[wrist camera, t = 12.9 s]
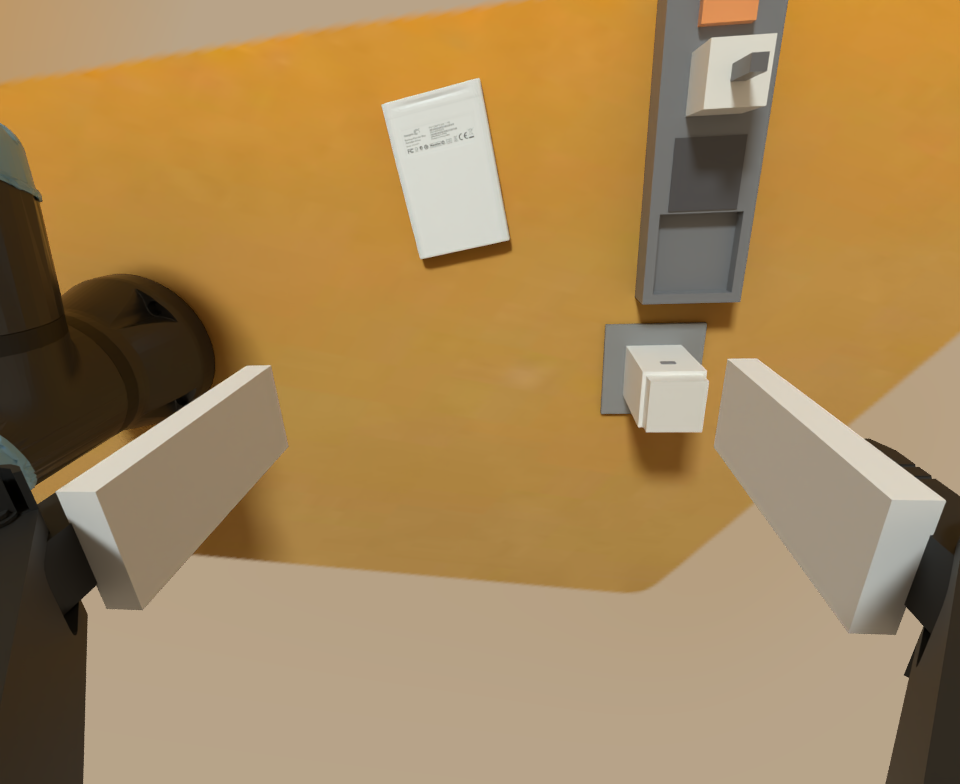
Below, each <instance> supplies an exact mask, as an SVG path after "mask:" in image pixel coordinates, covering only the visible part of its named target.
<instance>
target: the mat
mask: <svg viewBox="0 0 960 784" xmlns="http://www.w3.org/2000/svg"><path fill="white" fill-rule="evenodd" d="M706 328H707V323H706V322H699V323H651V324H605V341H604V360H603V378H602V396H601V414H632V413H631V411H630V409H629V407H628V405H627V403H626V401H625V399H624V396H623V385H624V371H625V356H626V346H644V345H682V346H683V347H684V348H685V349H686V350H687V351H688V352H689V353H690V354H691V355H692V356H693V357H694V358H695V359H696V360H697V361H698V362H699V363H700V364H702V357H703V350H704V342H705V335H706Z"/></svg>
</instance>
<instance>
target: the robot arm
mask: <svg viewBox="0 0 960 784" xmlns="http://www.w3.org/2000/svg"><path fill="white" fill-rule="evenodd" d="M40 202H42V196H41V194H40V192H39V191H38V190H37V189H36V188H35V185H34V182H33V178H32V175H31V171H30V168H29V164H28V160H27V157H26V153H25V150H24V148H23V146H22V144H21V142H20V141H19V139H18V138H17V136H16V135H15V134H14V133H13V132H12V131H11V130H9V129H8V128H7V127H5V126H4V125H2V124H1V123H0V784H83V766H84V728H85V692H86V655H87V652H86V651H87V618H88V617H87V616H88V615H87V612H86V610H85V608H84V605H83V604H82V602H81V599H82V598H83V597H84V596H85V595H86V594H88V593H89V592H90V591H91V589H93V588H94V587H95V586H97V587H98V590H99V592H100V595H101V597H102V599H103V601H104V604H105V606H106V608H107V609H128V610H143V609H144V608H145V607H146V606H147V605H148V603H149V602H150V601H151V600H152V599H153V598H154V597H155V595H156V594H157V593H158V592H159V591H160V590H161V589H162V588H163V587H164V585H165V584H166V583H167V582H168V581H169V580H170V579H171V578H172V577H173V575H174V574H175V573H176V572H177V571H178V570H179V569H180V568H181V566H182V565H183V564H184V563H185V562H186V561H187V560H188V558H189V557H190V556H191V555H192V554H193V553H194V552H195V551H196V550H197V549H198V547H199V546H200V545H201V544H202V543H203V542H204V541H205V540H206V538H207V537H208V536H209V535H210V534H211V533H212V532H213V531H214V529H215V528H216V527H217V526H218V525H219V524H220V523H221V522H222V520H223V519H224V518H225V517H226V516H227V515H228V514H229V513H230V512H231V510H232V509H233V508H234V507H235V506H236V505H237V504H238V503H239V501H240V500H241V499H242V498H243V497H244V496H245V495H246V494H247V492H248V491H249V490H250V489H251V488H252V487H253V486H254V485H255V483H256V482H257V481H258V480H259V479H260V478H261V477H262V476H263V475H264V473H265V472H266V471H267V470H268V469H269V468H270V467H271V466H272V464H273V463H274V462H275V461H276V460H277V459H278V458H279V457H280V455H281V454H282V453H283V452H284V451H285V450H286V449H287V448H288V442H287V438H286V433H285V428H284V424H283V419H282V415H281V410H280V405H279V401H278V396H277V391H276V387H275V382H274V378H273V373H272V368H271V365H265V366H245V367H244V368H242V369H241V370H239V371H238V372H236V373H235V374H233V375H232V376H230V377H229V378H227V379H226V380H224V381H223V382H221V383H220V384H218V385H216V386H215V387H213V388H212V389H210V387H211V384H212V381H213V377H214V369H215V361H214V353H213V348H212V345H211V342H210V339H209V336H208V334H207V332H206V330H205V328H204V326H203V325H202V323H201V321H200V320H199V318H198V317H197V315H196V314H195V313H194V312H193V310H192V309H191V308H190V307H189V306H188V305H187V304H186V303H185V302H184V301H183V300H182V299H181V298H180V297H178V296H177V295H176V294H175V293H173V292H172V291H170V290H169V289H167V288H166V287H164V286H162V285H160V284H158V283H156V282H154V281H152V280H149V279H146V278H143V277H140V276H135V275H129V274H113V275H107V276H103V277H98V278H94V279H90V280H87V281H84V282H82V283H80V284H78V285H76V286H74V287H72V288H71V289H70V290H68V291H67V292H66V293H64V294H63V295H62V296H61V293H60V289H59V285H58V280H57V276H56V272H55V267H54V263H53V259H52V254H51V250H50V246H49V241H48V237H47V233H46V228H45V224H44V220H43V215H42V211H41V207H40ZM209 389H210V390H209ZM158 423H159V424H158ZM153 424H157V425H156V426H154V427H153V428H151V429H150V430H148V431H147V432H145V433H144V434H142V435H141V436H139V437H138V438H136V439H135V440H133V441H131V442H130V443H128V444H127V445H125V446H124V447H122V448H121V449H119V450H118V451H116V452H115V453H113V454H112V455H110V456H109V457H107V458H106V459H104V460H103V461H101V462H100V463H98V464H97V465H95V466H94V467H92V468H90V469H89V470H87V471H86V472H84V473H83V474H81V475H80V476H78V477H77V478H75V479H74V480H72V481H71V482H69V483H68V484H66V485H65V486H63V487H62V488H60V489H59V490H57V491H56V493H54V494H52V495H51V496H49V497H48V498H46V499H45V500H43V501H42V502H40V503H39V504H37V503H36V501H35V499H34V497H33V495H32V492H31V490H32V489H33V488H35V485H37V484H39V483H40V482H42V481H43V480H45V479H46V478H48V477H50V476H51V475H53V474H54V473H56V472H57V471H59V470H61V469H62V468H64V467H65V466H67V465H69V464H70V463H72V462H73V461H75V460H76V459H78V458H80V457H81V456H83V455H84V454H86V453H88V452H89V451H91V450H92V449H94V448H96V447H97V446H99V445H100V444H102V443H104V442H105V441H107V440H108V439H110V438H111V437H113V436H115V435H116V434H118V433H120V432H121V431H123V430H128V429H133V428H138V427H143V426H148V425H153ZM714 448H715V449H716V451H717V452H718V454H719V455H720V456H721V458H722V459H723V460H724V462H725V463H726V465H727V466H728V467H729V469H730V470H731V471H732V473H733V474H734V476H735V477H736V478H737V480H738V481H739V483H740V484H741V485H742V487H743V488H744V489H745V491H746V492H747V494H748V495H749V496H750V498H751V499H752V501H753V502H754V503H755V505H756V506H757V507H758V509H759V510H760V512H761V513H762V514H763V516H764V517H765V518H766V520H767V521H768V523H769V524H770V525H771V527H772V528H773V530H774V531H775V532H776V534H777V535H778V536H779V538H780V539H781V541H782V542H783V543H784V545H785V546H786V548H787V549H788V550H789V552H790V553H791V554H792V556H793V557H794V559H795V560H796V561H797V563H798V564H799V565H800V567H801V568H802V570H803V571H804V572H805V574H806V575H807V576H808V578H809V579H810V581H811V582H812V583H813V585H814V586H815V587H816V589H817V590H818V592H819V593H820V595H821V596H822V597H823V599H824V600H825V601H826V603H827V604H828V606H829V607H830V608H831V610H832V611H833V612H834V613H835V615H836V617H837V618H838V619H839V620H840V622H841V624H842V625H843V626H844V628H845V629H846V630H847V632H848V633H859V634H888V635H896V632H897V630H898V627H899V624H900V622H901V619H902V617H903V614H904V611H905V608H906V607H907V608H908V609H909V610H910V612H912V614H913V615H914V616H915V617H916V618H917V619H918V620H919V621H920V623H921V624H922V625H923V626H924V627H923V629H922V632H921V634H920V637H919V639H918V642H917V644H916V646H915V649H914V652H913V654H912V656H911V659H910V662H909V664H908V666H907V669H906V671H905V674H904V675H905V676H907V677H909V681H908V685H907V690H906V695H905V699H904V703H903V708H902V713H901V717H900V722H899V726H898V730H897V735H896V739H895V744H894V748H893V753H892V757H891V762H890V766H889V770H888V776H887V780H886V784H960V496H958V495H957V494H956V493H954V492H953V491H952V490H950V489H949V488H948V487H946V486H945V485H943V484H942V483H941V482H939V481H938V480H936V479H932V478H931V475H929V474H928V473H927V472H925V471H924V470H922V469H921V468H920V467H915V464H914V463H913V462H911V461H910V460H908V459H907V458H906V457H904V456H903V455H902V454H900V453H899V452H897V451H896V450H893V449H891V448H889V447H887V446H885V445H882V444H880V443H878V442H876V441H873V440H871V439H863V438H862V437H861V436H859V435H858V434H856V433H855V432H854V431H853V430H851V429H850V428H849V427H847V426H846V425H845V424H843V423H842V422H841V421H839V420H838V419H837V418H835V417H834V416H833V415H831V414H830V413H829V412H827V411H826V410H825V409H823V408H822V407H821V406H819V405H818V404H817V403H815V402H814V401H813V400H811V399H810V398H809V397H807V396H806V395H805V394H803V393H802V392H801V391H799V390H798V389H797V388H795V387H794V386H793V385H791V384H790V383H789V382H787V381H786V380H785V379H783V378H782V377H781V376H779V375H778V374H777V373H775V372H774V371H773V370H771V369H770V368H769V367H767V366H766V365H765V364H763V363H762V362H761V361H759V360H758V359H728V360H727V366H726V372H725V379H724V385H723V392H722V398H721V404H720V411H719V417H718V424H717V430H716V436H715V443H714Z"/></svg>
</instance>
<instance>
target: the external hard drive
mask: <svg viewBox="0 0 960 784" xmlns="http://www.w3.org/2000/svg"><path fill="white" fill-rule="evenodd" d="M382 109H383V113H384V117H385V121H386V125H387V129H388V133H389V137H390V141H391V145H392V150H393V154H394V157H395V162H396V166H397V169H398V173H399V177H400V181H401V185H402V189H403V193H404V197H405V201H406V205H407V209H408V213H409V217H410V221H411V225H412V229H413V233H414V237H415V241H416V245H417V249H418V252H419V256H420V259H425V258H430V257H434V256H439V255H443V254H448V253H453V252H457V251H462V250H467V249H471V248H476V247H480V246H485V245H490V244H495V243H499V242H503V241H509V240H510V235H509V230H508V225H507V219H506V214H505V209H504V203H503V198H502V193H501V187H500V182H499V177H498V171H497V166H496V160H495V155H494V150H493V145H492V139H491V134H490V129H489V123H488V118H487V113H486V107H485V102H484V97H483V91H482V85H481V81H480V79H479V78H477V79H472V80H469V81H466V82H462V83H458V84H455V85H451V86H447V87H444V88H440V89H436V90H433V91H429V92H425V93H421V94H418V95H414V96H410V97H407V98H403V99H399V100H396V101H392V102H388V103H385V104H382Z"/></svg>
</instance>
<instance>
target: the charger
mask: <svg viewBox="0 0 960 784" xmlns="http://www.w3.org/2000/svg"><path fill="white" fill-rule="evenodd" d="M706 375H707V370H706V369H705V368H704V367H703V366H702V365H701V364H700V363H699V362H698V361H697V360H696V359H695V358H694V357H693V356H692V355H691V354H690V353H689V352H688V351H687V350H686V349H685V348H684V347H683V346H682V345H644V346H626V356H625V371H624V385H623V396H624V399H625V401H626V403H627V405H628V407H629V409H630V411H631V413H632V416H633V418H634V420H635V422H636V424H637V426H638V427H644V429H645V431H646V432H702V428H703V421H704V414H705V407H706V400H707V393H708V386H709V381H708V380H707V379H706Z"/></svg>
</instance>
